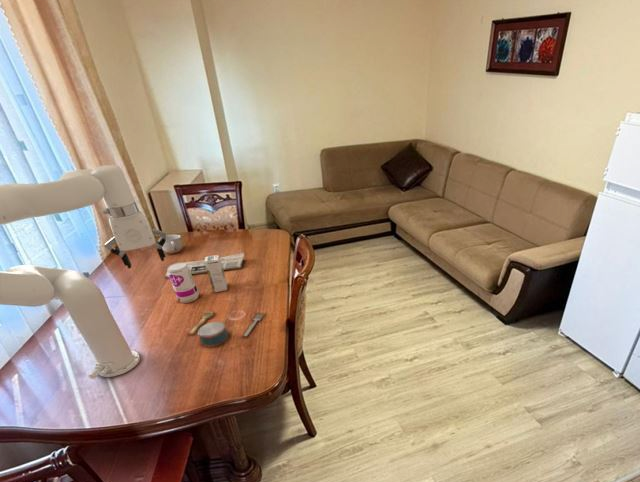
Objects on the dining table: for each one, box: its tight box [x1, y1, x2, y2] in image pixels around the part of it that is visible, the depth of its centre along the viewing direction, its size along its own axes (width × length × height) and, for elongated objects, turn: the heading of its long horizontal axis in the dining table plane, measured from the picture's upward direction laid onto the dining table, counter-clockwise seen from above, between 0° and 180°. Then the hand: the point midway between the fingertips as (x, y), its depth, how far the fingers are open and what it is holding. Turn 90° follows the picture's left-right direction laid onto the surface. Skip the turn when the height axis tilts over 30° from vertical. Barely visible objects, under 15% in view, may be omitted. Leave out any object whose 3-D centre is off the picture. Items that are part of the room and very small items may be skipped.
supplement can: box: [166, 262, 200, 304], centre depth 159 cm, size 8×8×15 cm
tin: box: [197, 321, 229, 348], centre depth 136 cm, size 9×9×5 cm
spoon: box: [188, 310, 215, 336], centre depth 146 cm, size 14×4×1 cm, turn 172°
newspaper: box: [165, 252, 245, 279], centre depth 187 cm, size 35×12×4 cm, turn 101°
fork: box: [243, 313, 265, 338], centre depth 143 cm, size 14×3×1 cm, turn 172°
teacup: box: [157, 234, 184, 254], centre depth 204 cm, size 14×11×8 cm
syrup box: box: [204, 254, 228, 293], centre depth 165 cm, size 6×6×14 cm
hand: (146, 263), depth 124 cm, fingers open, 9 cm apart
